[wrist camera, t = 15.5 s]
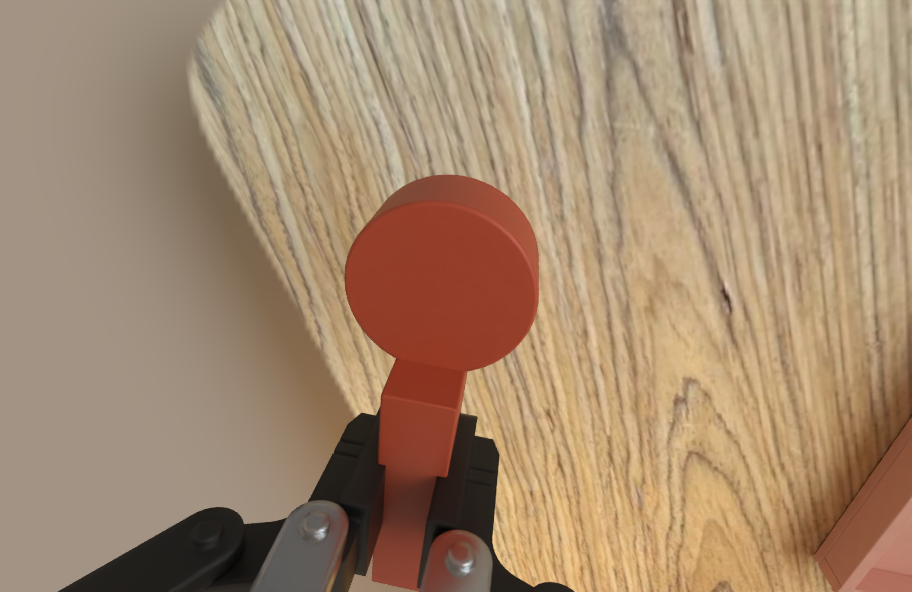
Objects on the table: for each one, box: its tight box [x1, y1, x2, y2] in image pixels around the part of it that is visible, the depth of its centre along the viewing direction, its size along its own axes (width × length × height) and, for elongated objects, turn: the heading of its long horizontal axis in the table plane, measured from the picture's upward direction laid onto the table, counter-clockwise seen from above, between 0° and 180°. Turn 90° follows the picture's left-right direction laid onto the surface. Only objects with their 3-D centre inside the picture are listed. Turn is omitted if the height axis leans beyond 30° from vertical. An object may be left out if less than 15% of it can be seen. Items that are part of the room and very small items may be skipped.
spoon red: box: [344, 175, 539, 591], centre depth 12 cm, size 11×4×3 cm, turn 172°
